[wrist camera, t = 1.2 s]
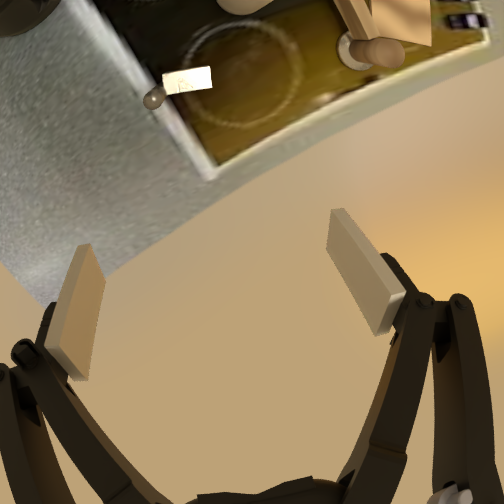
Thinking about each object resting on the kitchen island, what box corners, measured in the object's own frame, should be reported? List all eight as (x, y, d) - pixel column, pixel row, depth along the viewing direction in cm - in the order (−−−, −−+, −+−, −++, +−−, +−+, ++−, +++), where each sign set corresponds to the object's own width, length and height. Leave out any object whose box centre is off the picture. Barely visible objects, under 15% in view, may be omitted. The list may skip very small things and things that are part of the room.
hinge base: (335, 28, 31) (338, 27, 31) (373, 32, 32) (377, 32, 31) (336, 68, 35) (339, 69, 34) (374, 71, 36) (377, 71, 35)
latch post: (154, 74, 32) (139, 81, 23) (207, 65, 33) (212, 68, 24) (157, 96, 34) (144, 111, 25) (209, 87, 34) (215, 98, 26)
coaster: (366, -32, 25) (368, -32, 25) (425, -15, 26) (428, -15, 26) (370, 35, 32) (373, 35, 32) (428, 46, 33) (431, 46, 33)
